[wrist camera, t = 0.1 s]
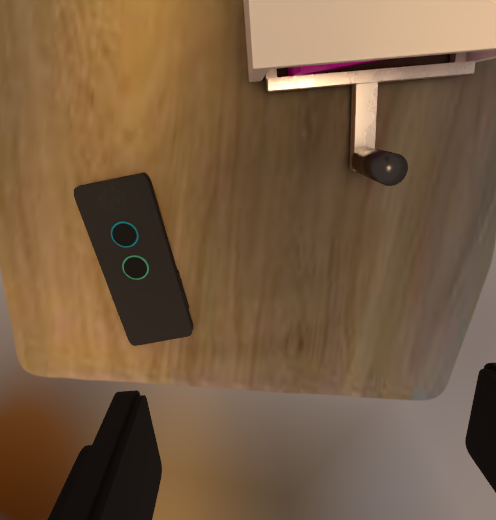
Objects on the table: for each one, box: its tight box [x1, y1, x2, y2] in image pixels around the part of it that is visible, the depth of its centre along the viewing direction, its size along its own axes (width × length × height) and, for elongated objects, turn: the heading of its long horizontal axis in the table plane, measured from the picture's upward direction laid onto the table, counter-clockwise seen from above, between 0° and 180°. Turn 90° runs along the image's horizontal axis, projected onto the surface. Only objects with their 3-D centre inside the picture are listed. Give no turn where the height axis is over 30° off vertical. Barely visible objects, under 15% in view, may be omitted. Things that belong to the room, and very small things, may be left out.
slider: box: [266, 52, 475, 186], centre depth 30 cm, size 18×19×8 cm
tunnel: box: [243, 0, 496, 82], centre depth 28 cm, size 8×22×10 cm, turn 95°
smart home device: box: [74, 173, 193, 346], centre depth 41 cm, size 8×2×20 cm
